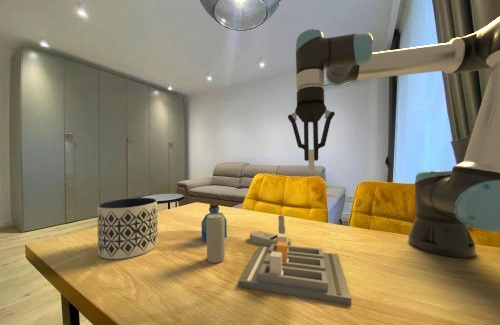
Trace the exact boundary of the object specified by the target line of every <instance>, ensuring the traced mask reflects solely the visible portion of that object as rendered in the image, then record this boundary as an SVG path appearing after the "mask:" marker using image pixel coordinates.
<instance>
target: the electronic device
mask: <svg viewBox="0 0 500 325" xmlns="http://www.w3.org/2000/svg"><path fill="white" fill-rule="evenodd" d="M277 217H278V218H277V219H278V228H277V229H278V234H279V233H280V234H286V226H285V215H278V216H277ZM278 234H274V233H270V232H266V231H262V230H255V231H252V232H250V234H249V240H250V242H252V243H255V244H259V245H260V246H265V247H270V246H271V244H277V243H278ZM288 246H292V240H291V238H290V237H288Z"/></svg>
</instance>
